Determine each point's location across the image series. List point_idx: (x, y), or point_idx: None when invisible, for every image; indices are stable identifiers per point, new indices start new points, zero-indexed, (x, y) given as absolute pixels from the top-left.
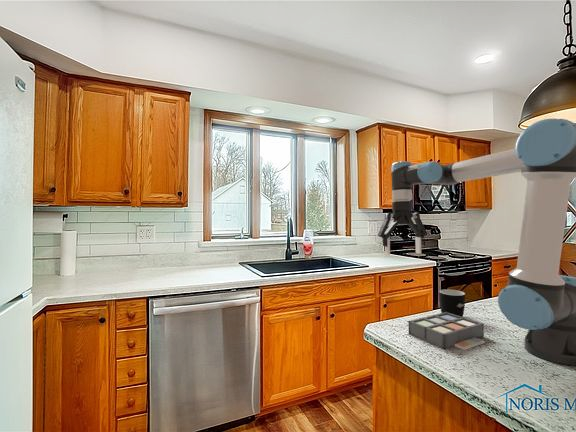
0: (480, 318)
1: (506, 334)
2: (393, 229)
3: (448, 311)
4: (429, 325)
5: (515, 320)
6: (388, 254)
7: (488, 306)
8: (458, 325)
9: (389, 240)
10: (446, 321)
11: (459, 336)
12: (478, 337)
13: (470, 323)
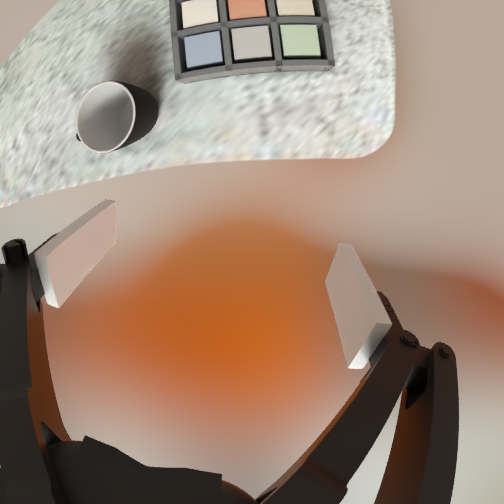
0: None
1: (125, 12)
2: (350, 406)
3: (152, 99)
4: (300, 28)
5: None
6: (350, 246)
7: (28, 165)
8: (230, 4)
9: (373, 309)
10: (240, 24)
11: None
12: None
13: (189, 7)
